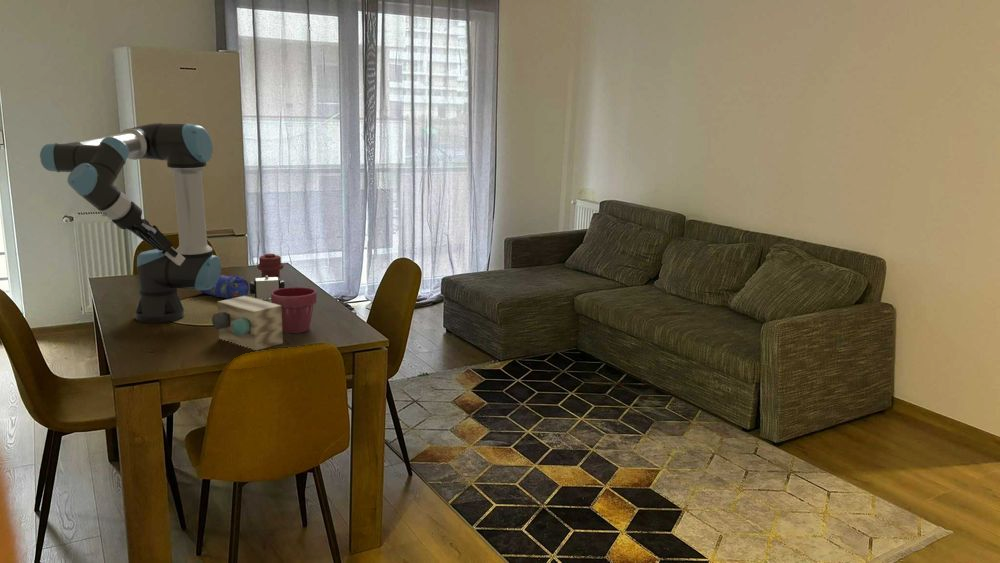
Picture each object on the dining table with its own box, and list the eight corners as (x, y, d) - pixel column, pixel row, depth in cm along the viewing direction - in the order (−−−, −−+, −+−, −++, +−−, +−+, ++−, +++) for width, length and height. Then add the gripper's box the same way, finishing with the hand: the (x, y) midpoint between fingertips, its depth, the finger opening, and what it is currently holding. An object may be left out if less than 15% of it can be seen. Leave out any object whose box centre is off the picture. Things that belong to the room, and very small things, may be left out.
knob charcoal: (221, 330, 236) (221, 315, 235) (212, 327, 238) (211, 312, 237) (256, 322, 245) (255, 307, 244) (246, 319, 248) (245, 305, 247)
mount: (255, 350, 233) (253, 311, 230) (219, 338, 243) (217, 301, 240) (282, 343, 240) (281, 305, 238) (246, 331, 251) (244, 295, 248)
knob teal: (242, 337, 230) (241, 321, 229) (232, 334, 233) (231, 318, 232) (276, 328, 240) (275, 313, 239) (266, 325, 242) (265, 310, 241)
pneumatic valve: (285, 309, 279) (284, 276, 276) (251, 311, 275) (249, 278, 272) (284, 305, 284) (283, 273, 281) (250, 307, 280) (249, 274, 277)
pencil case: (193, 294, 296) (192, 269, 294) (212, 290, 304) (211, 266, 301) (232, 303, 285) (231, 278, 283) (251, 299, 292) (250, 274, 290)
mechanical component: (272, 280, 322) (289, 284, 316) (252, 284, 313) (269, 288, 308) (271, 251, 319) (288, 254, 314) (251, 254, 311) (268, 257, 305)
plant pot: (287, 321, 264) (286, 284, 261) (325, 325, 260) (324, 288, 257) (263, 332, 250) (262, 294, 247) (302, 337, 246) (301, 298, 244)
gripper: (100, 218, 214) (161, 268, 231) (125, 223, 207) (186, 275, 224) (117, 197, 217) (176, 248, 234) (142, 202, 210) (201, 254, 227)
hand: (181, 261), depth 229 cm, fingers closed
